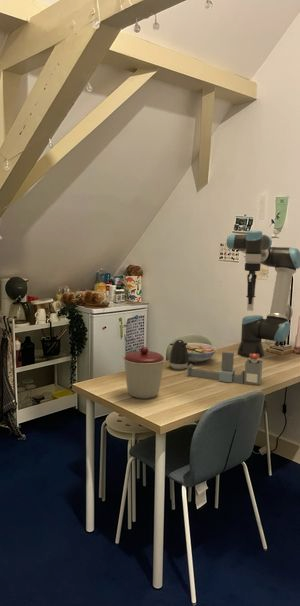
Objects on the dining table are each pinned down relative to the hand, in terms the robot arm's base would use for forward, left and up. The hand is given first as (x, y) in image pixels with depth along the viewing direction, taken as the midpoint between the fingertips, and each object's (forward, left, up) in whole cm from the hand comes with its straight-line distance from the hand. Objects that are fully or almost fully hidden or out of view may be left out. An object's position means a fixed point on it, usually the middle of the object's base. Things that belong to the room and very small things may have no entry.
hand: (250, 310), depth 222 cm
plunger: (+13, +5, -26) cm, 29 cm away
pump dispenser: (+6, -34, -33) cm, 47 cm away
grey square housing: (+13, +5, -32) cm, 35 cm away
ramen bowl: (-12, -30, -33) cm, 46 cm away
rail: (+15, -13, -32) cm, 38 cm away
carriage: (+15, -7, -32) cm, 36 cm away
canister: (+50, -36, -33) cm, 70 cm away
